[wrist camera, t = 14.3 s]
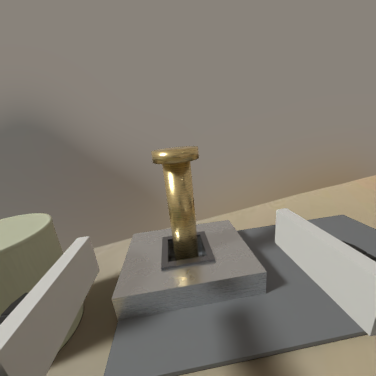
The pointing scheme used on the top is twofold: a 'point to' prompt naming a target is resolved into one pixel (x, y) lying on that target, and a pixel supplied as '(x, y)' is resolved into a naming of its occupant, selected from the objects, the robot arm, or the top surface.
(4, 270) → the can
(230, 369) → the top surface
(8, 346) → the robot arm
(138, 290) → the grey flat rectangular block
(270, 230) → the mat
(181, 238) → the pin
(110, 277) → the top surface
